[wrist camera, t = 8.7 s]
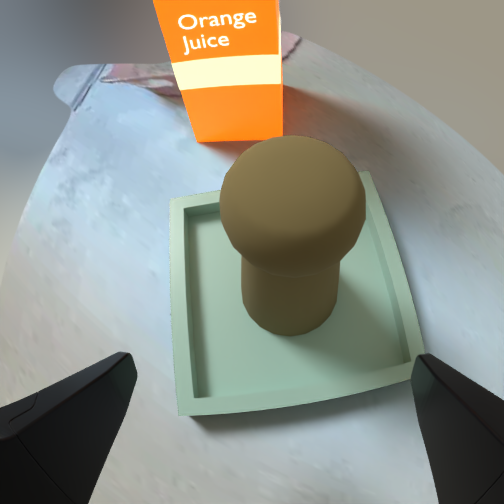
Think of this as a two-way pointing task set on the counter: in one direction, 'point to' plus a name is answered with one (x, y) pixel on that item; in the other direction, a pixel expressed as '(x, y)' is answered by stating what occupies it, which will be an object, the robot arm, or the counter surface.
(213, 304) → the tray
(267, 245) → the cork
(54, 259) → the counter surface
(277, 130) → the orange juice
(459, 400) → the robot arm
